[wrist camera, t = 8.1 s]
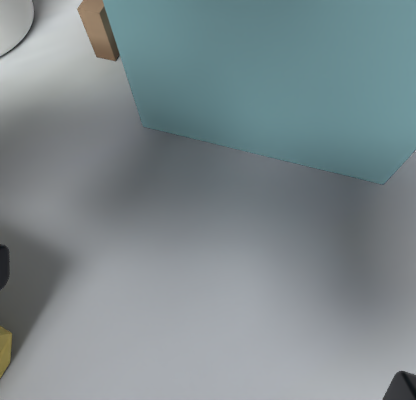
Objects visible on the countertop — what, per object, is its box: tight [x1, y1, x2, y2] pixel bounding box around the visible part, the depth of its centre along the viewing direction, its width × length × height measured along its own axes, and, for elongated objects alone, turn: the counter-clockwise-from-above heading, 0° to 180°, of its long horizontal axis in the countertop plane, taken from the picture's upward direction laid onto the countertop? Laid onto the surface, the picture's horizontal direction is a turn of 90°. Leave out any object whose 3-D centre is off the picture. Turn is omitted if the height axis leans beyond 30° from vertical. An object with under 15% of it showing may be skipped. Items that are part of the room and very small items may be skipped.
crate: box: [103, 0, 416, 185], centre depth 14 cm, size 9×12×10 cm
